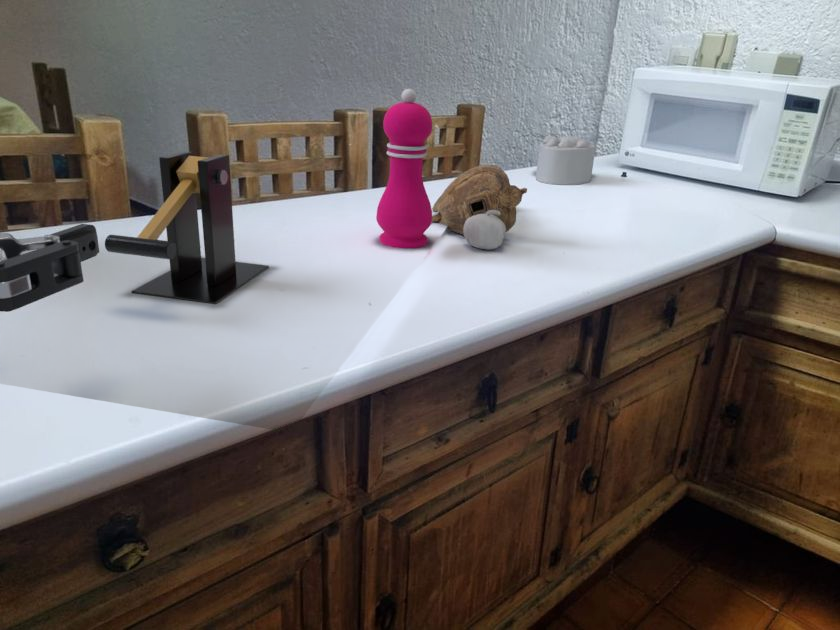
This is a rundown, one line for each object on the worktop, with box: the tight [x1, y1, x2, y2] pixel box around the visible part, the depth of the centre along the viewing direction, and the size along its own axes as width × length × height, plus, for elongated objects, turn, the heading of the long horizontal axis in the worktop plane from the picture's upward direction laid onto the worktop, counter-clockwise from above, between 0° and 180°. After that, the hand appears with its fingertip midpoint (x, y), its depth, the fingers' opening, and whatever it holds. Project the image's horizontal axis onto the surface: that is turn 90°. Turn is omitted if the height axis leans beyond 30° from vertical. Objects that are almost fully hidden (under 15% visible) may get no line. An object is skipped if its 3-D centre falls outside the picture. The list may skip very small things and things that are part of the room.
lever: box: [104, 155, 210, 260], centre depth 61 cm, size 13×6×2 cm, turn 168°
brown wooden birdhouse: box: [431, 164, 528, 236], centre depth 101 cm, size 10×24×15 cm
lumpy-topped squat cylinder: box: [535, 135, 596, 186], centre depth 138 cm, size 10×13×9 cm
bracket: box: [130, 150, 270, 305], centre depth 67 cm, size 12×9×14 cm
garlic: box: [463, 210, 507, 251], centre depth 88 cm, size 6×5×5 cm
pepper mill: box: [376, 88, 433, 249], centre depth 82 cm, size 7×7×20 cm
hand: (39, 232), depth 46 cm, fingers open, 8 cm apart
